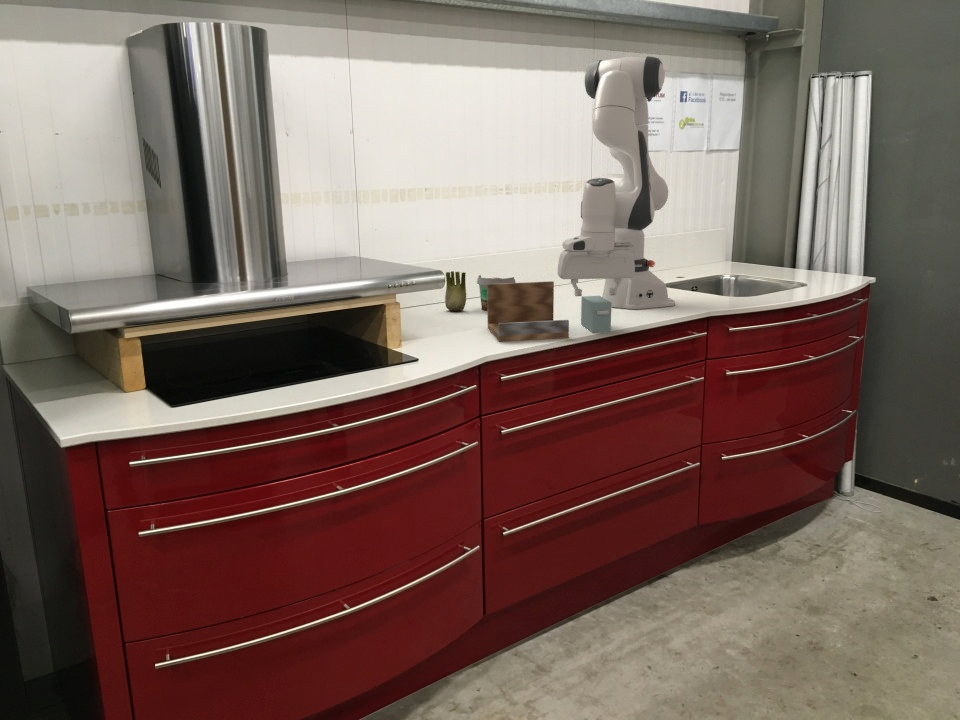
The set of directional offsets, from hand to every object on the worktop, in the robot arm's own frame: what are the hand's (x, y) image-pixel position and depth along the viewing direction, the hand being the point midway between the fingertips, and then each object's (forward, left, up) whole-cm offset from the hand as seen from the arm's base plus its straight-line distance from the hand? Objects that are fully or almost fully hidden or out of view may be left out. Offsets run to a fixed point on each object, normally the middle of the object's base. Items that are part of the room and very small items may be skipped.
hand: (595, 295), depth 208 cm
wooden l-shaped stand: (+19, 0, -9) cm, 21 cm away
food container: (+22, -32, -9) cm, 39 cm away
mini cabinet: (0, -1, -9) cm, 9 cm away
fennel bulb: (+33, -34, -9) cm, 48 cm away
